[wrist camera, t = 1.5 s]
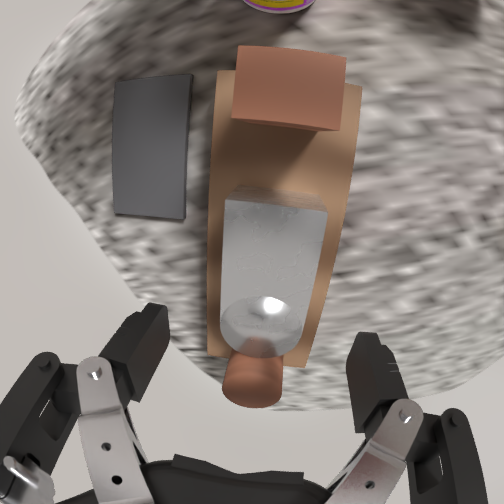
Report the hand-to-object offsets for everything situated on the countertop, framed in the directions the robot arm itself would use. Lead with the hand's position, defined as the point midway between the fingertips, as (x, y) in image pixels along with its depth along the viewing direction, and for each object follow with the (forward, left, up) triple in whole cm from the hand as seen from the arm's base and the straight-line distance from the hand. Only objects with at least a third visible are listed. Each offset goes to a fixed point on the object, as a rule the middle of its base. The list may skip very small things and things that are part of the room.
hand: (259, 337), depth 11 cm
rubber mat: (-6, -11, -13) cm, 18 cm away
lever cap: (+1, 0, -9) cm, 9 cm away
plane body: (0, 0, -13) cm, 13 cm away
